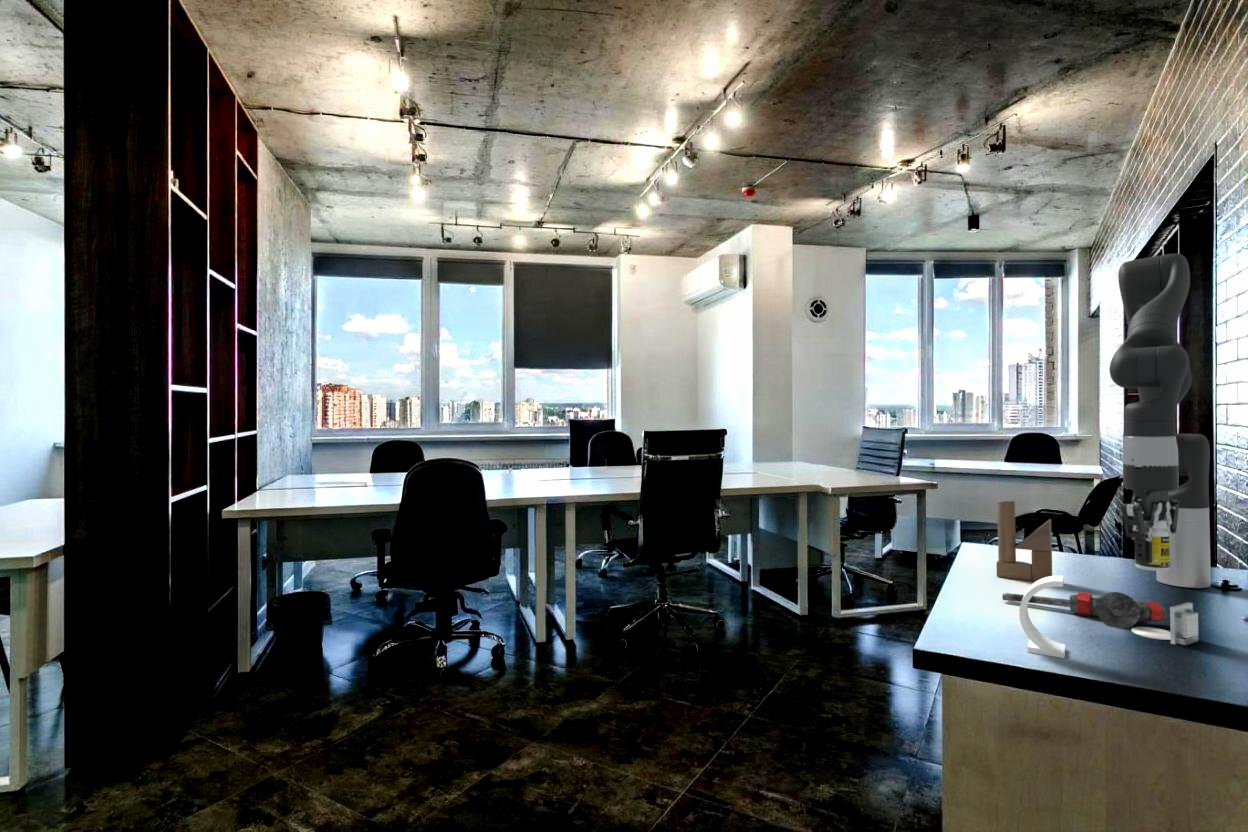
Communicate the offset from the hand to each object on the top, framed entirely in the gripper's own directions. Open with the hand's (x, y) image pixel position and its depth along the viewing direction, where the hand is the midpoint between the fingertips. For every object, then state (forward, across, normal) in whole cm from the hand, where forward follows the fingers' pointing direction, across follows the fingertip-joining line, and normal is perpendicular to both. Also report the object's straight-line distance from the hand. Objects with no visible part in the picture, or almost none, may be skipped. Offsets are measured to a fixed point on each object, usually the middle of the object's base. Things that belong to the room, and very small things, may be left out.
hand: (1152, 560), depth 114 cm
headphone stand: (+13, +24, -4) cm, 28 cm away
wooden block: (+13, -19, -34) cm, 41 cm away
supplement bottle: (+2, 0, 0) cm, 2 cm away
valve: (+13, -4, -14) cm, 20 cm away
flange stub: (+13, 0, +4) cm, 13 cm away
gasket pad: (+13, 0, 0) cm, 13 cm away
